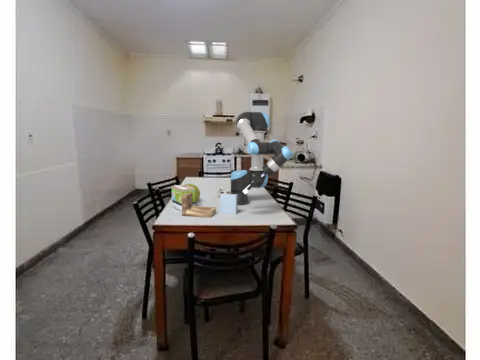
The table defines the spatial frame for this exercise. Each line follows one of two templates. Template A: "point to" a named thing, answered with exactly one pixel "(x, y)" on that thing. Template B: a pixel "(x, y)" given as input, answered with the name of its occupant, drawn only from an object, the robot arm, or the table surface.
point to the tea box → (179, 192)
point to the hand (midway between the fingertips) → (245, 190)
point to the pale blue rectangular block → (228, 204)
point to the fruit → (197, 191)
